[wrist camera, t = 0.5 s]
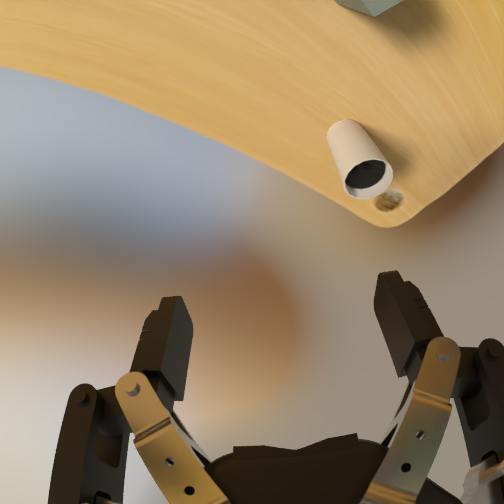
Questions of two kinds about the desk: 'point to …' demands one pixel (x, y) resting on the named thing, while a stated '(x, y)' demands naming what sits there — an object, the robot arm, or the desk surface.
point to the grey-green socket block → (369, 5)
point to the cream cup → (358, 160)
